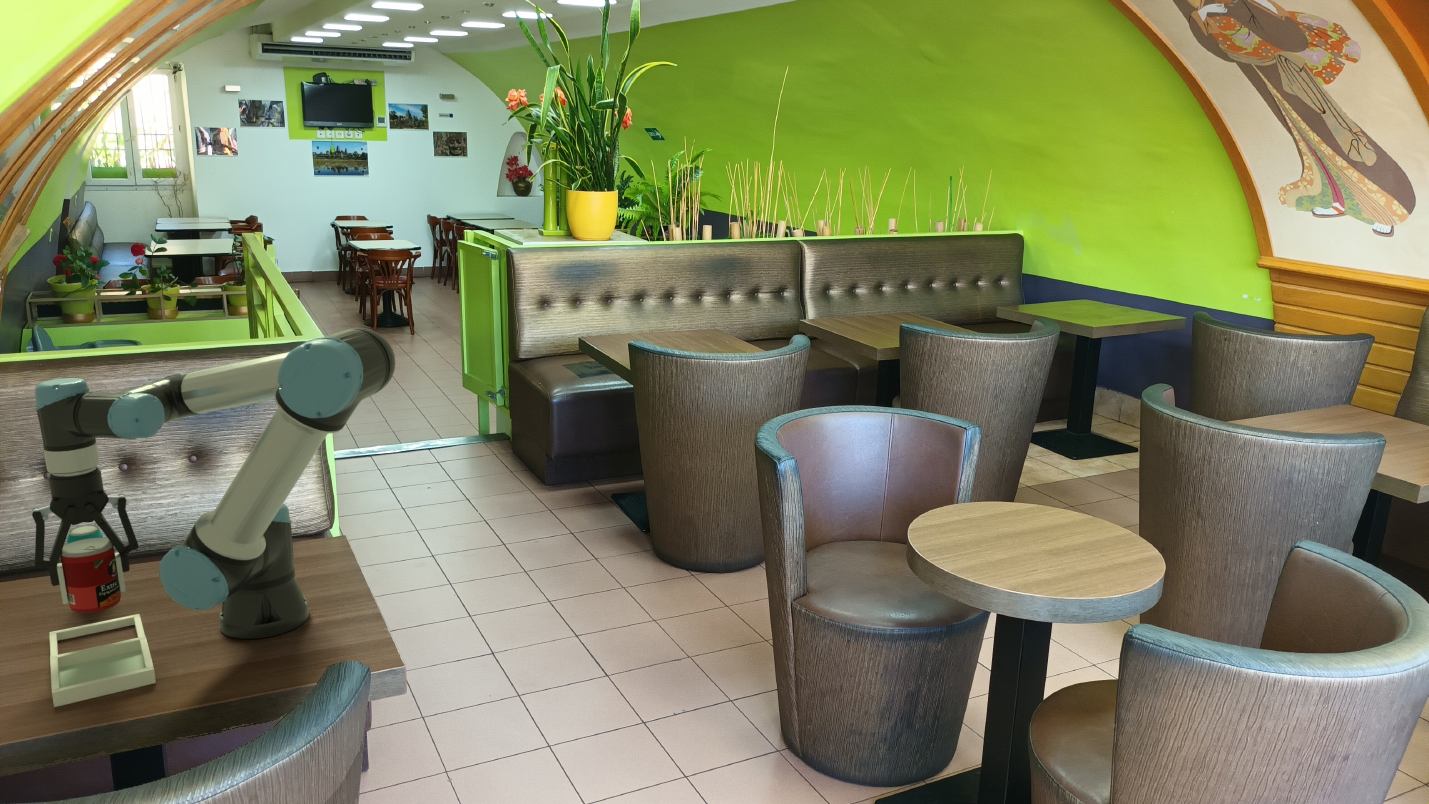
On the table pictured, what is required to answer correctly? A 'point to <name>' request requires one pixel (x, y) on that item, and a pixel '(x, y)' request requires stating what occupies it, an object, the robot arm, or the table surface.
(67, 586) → the canned food
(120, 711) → the table surface
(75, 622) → the table surface
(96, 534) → the beverage can
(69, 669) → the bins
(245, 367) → the robot arm
